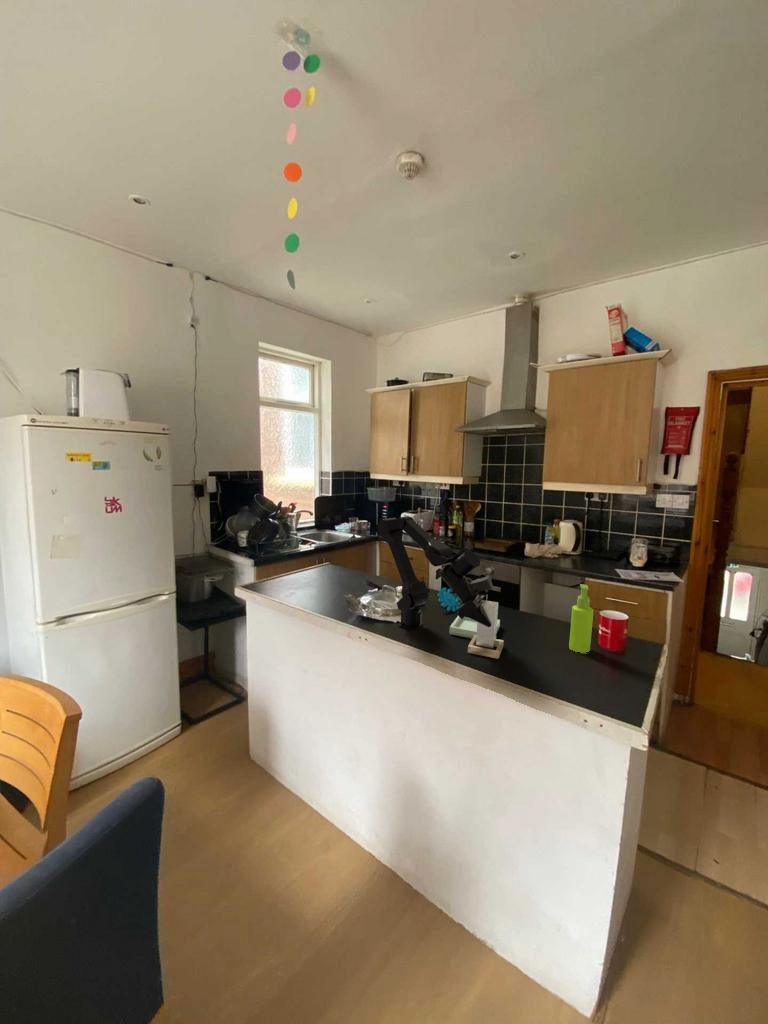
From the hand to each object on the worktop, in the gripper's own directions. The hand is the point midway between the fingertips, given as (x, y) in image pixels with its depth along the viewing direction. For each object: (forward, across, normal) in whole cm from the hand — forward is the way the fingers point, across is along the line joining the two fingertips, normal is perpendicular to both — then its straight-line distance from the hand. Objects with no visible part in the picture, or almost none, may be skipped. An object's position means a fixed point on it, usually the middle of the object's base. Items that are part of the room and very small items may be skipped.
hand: (492, 623), depth 127 cm
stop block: (+4, 0, +6) cm, 7 cm away
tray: (+1, +13, +11) cm, 17 cm away
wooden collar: (+5, 0, +7) cm, 9 cm away
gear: (-8, +29, +21) cm, 37 cm away
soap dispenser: (+24, +14, -11) cm, 30 cm away
